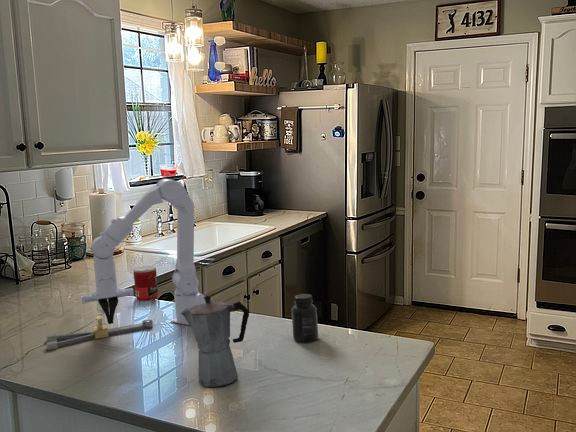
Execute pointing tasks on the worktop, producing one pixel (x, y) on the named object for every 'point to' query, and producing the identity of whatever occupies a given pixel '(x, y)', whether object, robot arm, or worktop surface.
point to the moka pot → (215, 340)
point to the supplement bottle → (304, 319)
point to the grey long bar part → (92, 335)
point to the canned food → (145, 283)
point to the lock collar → (100, 329)
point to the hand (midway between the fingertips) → (110, 322)
